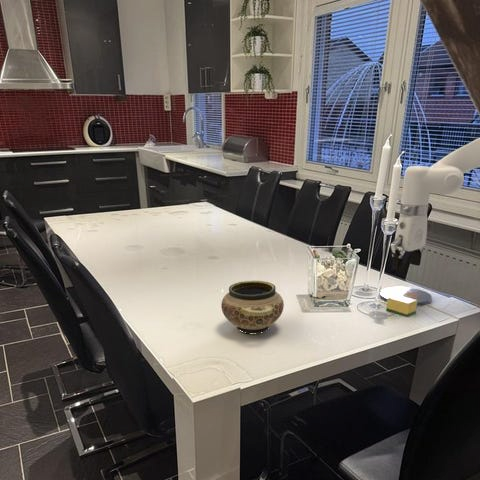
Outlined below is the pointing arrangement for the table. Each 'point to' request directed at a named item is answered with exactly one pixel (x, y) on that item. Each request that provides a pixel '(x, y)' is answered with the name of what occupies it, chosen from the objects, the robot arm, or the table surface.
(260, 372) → the table surface
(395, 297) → the sponge
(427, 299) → the plate
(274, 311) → the ceramic bowl
